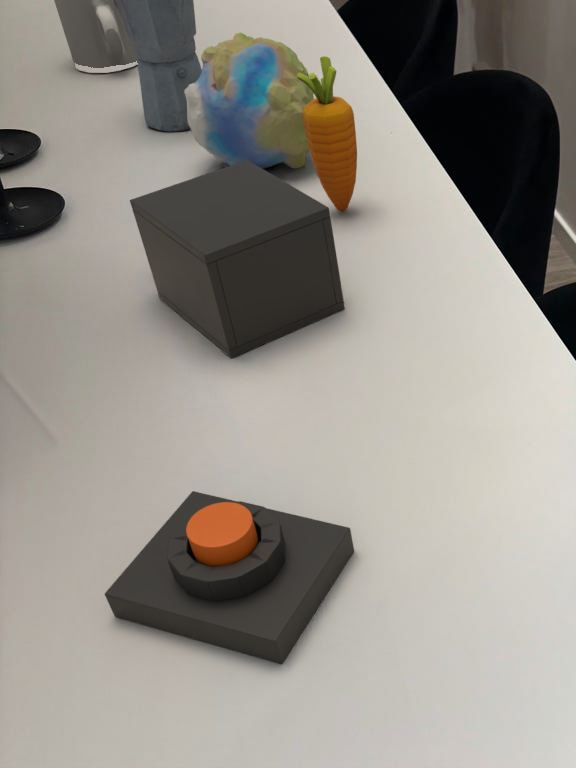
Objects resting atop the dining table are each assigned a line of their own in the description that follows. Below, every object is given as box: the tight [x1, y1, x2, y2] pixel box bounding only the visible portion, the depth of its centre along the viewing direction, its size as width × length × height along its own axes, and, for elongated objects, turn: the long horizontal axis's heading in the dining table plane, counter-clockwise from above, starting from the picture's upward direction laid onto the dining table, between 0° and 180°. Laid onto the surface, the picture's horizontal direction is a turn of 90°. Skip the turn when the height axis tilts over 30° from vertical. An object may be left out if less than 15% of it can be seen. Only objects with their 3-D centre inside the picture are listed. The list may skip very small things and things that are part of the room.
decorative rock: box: [184, 31, 315, 170], centre depth 107 cm, size 14×16×15 cm
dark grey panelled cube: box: [129, 160, 346, 359], centre depth 85 cm, size 14×12×10 cm
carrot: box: [297, 55, 358, 213], centre depth 96 cm, size 5×5×15 cm
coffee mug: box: [54, 0, 138, 68], centre depth 134 cm, size 13×10×10 cm
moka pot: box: [114, 0, 202, 132], centre depth 115 cm, size 10×15×20 cm, turn 57°
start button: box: [186, 502, 258, 567], centre depth 59 cm, size 4×4×2 cm
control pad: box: [104, 490, 355, 665], centre depth 61 cm, size 12×10×4 cm
